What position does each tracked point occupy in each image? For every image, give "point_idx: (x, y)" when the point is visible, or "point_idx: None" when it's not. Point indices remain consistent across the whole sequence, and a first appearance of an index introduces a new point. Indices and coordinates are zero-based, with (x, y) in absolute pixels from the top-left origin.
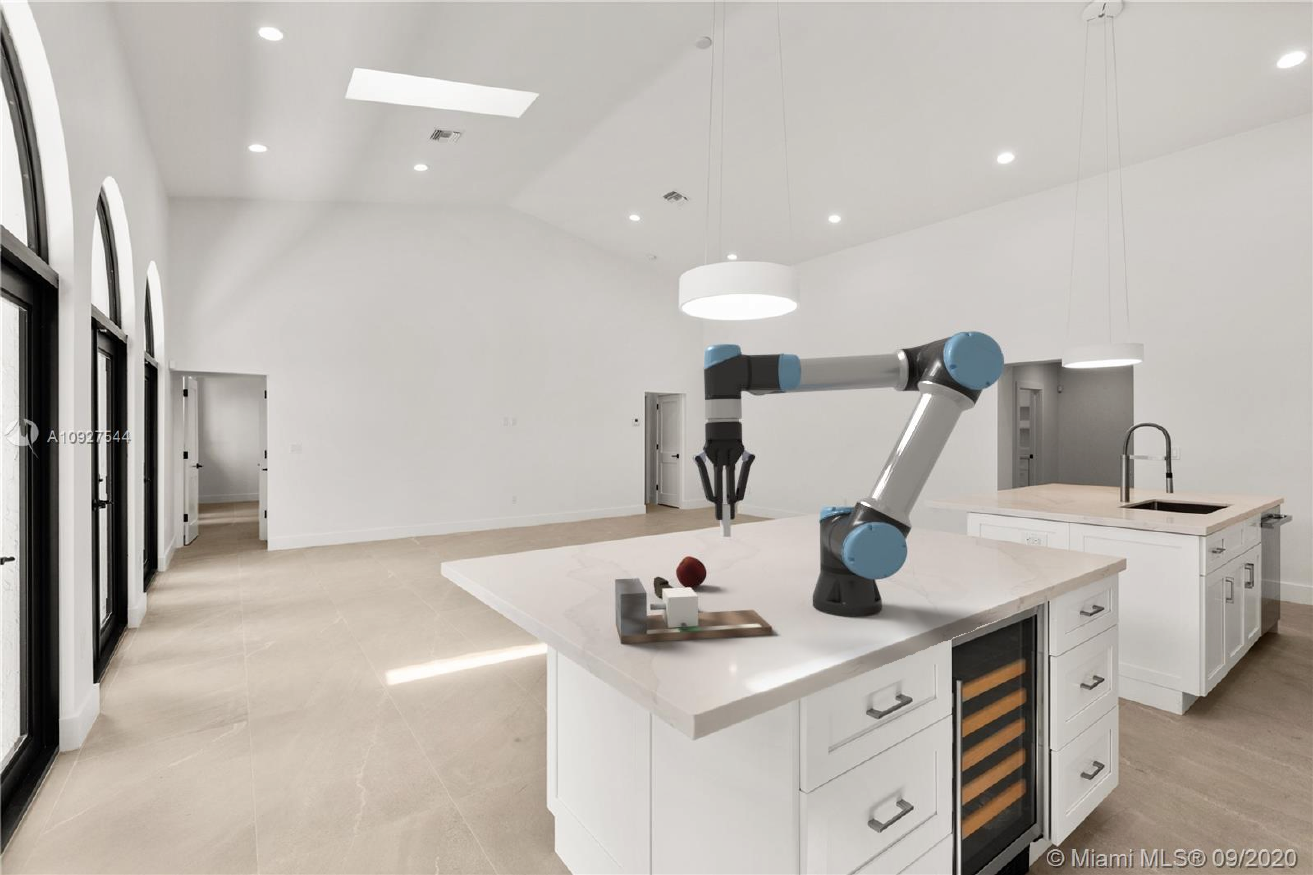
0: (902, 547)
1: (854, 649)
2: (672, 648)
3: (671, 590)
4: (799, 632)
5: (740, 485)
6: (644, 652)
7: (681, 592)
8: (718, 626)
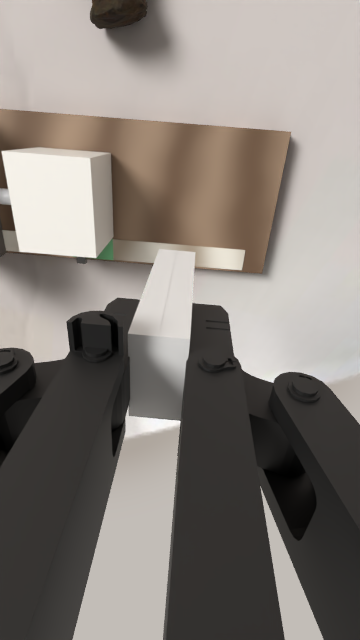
0: None
1: (346, 361)
2: (60, 288)
3: (29, 181)
4: (318, 269)
5: (308, 590)
6: (12, 293)
7: (56, 212)
8: (156, 246)
